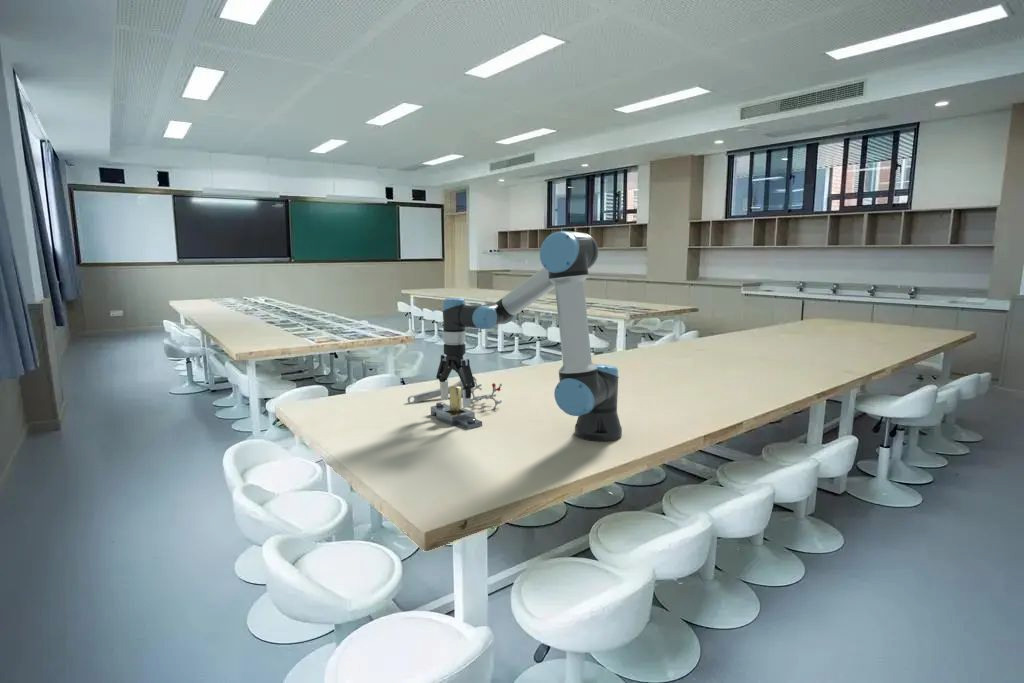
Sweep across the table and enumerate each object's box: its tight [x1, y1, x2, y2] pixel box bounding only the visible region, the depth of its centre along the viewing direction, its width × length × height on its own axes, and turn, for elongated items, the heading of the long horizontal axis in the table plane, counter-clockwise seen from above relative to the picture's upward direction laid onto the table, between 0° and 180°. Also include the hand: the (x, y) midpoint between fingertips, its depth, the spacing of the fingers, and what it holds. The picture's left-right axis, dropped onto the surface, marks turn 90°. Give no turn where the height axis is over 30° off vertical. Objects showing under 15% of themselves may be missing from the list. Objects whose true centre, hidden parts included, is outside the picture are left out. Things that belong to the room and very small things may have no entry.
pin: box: [449, 385, 462, 415], centre depth 194 cm, size 4×4×12 cm
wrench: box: [407, 376, 478, 404], centre depth 223 cm, size 8×2×30 cm
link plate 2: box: [436, 415, 483, 430], centre depth 192 cm, size 16×10×2 cm, turn 41°
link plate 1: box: [430, 401, 476, 422], centre depth 197 cm, size 16×10×4 cm, turn 41°
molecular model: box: [466, 381, 503, 410], centre depth 213 cm, size 19×10×10 cm, turn 34°
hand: (455, 403), depth 194 cm, fingers open, 13 cm apart
